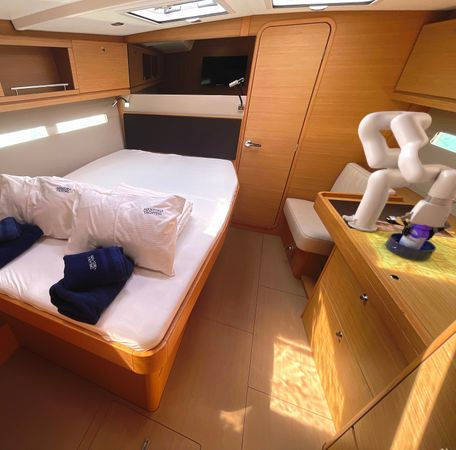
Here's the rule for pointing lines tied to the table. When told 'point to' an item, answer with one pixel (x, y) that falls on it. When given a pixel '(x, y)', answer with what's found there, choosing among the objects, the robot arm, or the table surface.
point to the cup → (401, 221)
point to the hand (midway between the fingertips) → (415, 236)
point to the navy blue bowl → (409, 252)
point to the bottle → (416, 236)
